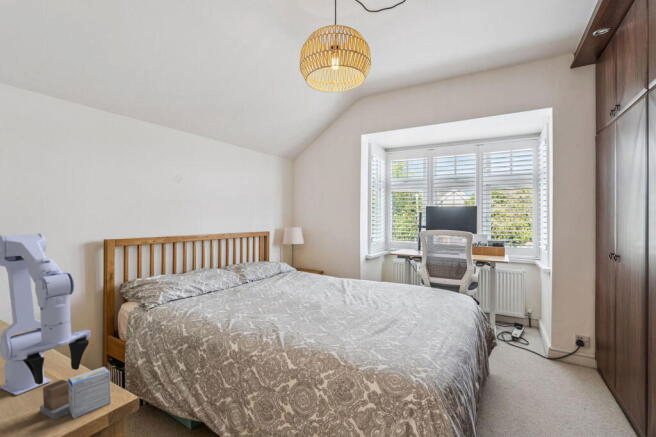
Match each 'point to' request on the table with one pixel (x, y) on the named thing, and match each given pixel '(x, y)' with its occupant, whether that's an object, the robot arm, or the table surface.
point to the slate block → (55, 411)
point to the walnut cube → (56, 394)
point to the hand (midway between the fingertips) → (57, 375)
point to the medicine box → (89, 391)
